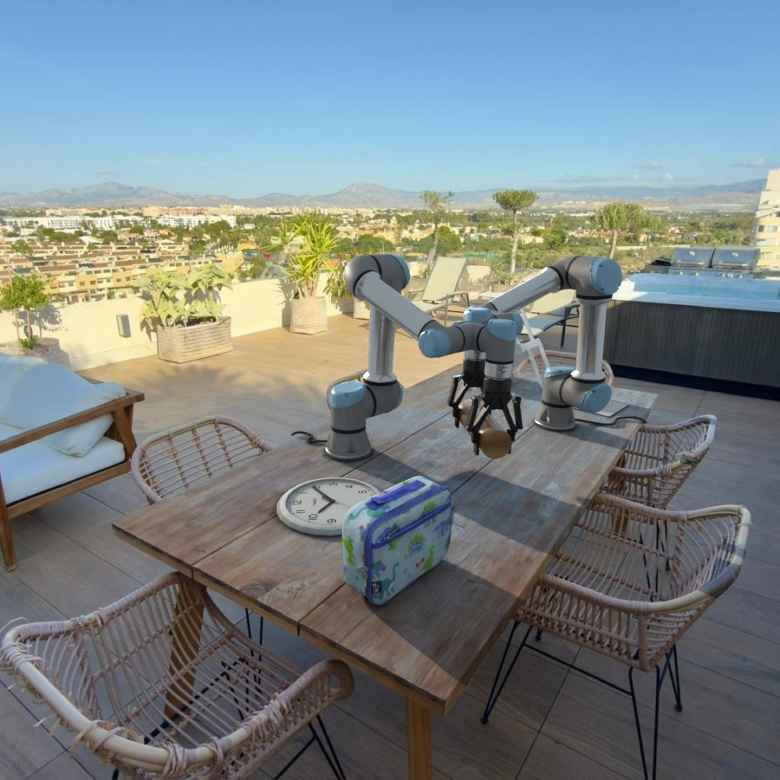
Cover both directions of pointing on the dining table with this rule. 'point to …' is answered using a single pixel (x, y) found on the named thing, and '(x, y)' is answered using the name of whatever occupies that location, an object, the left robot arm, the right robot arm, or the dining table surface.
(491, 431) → the rod
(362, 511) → the lunch box
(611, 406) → the invitation card
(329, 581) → the dining table surface
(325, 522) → the wall clock
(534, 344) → the white plastic object
